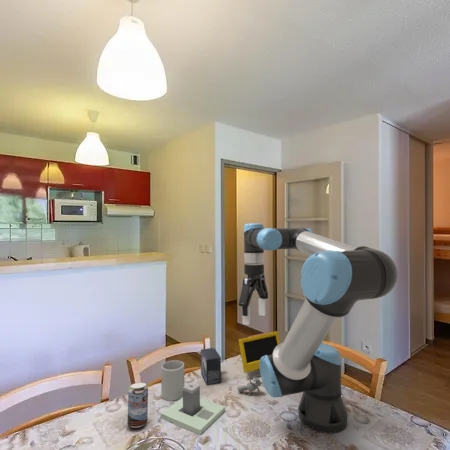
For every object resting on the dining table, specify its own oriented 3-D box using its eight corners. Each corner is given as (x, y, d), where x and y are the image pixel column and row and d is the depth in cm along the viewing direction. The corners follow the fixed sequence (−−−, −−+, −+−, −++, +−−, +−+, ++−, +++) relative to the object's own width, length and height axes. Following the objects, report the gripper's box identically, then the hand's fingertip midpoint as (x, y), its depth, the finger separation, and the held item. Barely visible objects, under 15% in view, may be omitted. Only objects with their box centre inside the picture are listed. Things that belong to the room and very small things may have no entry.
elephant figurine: (241, 385, 119) (263, 379, 117) (244, 402, 115) (266, 396, 113) (232, 377, 113) (254, 371, 111) (234, 395, 108) (257, 388, 106)
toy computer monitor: (245, 381, 122) (245, 341, 122) (235, 373, 129) (235, 335, 129) (284, 369, 132) (284, 333, 132) (273, 362, 139) (272, 328, 139)
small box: (200, 373, 129) (199, 348, 129) (214, 371, 131) (214, 347, 131) (205, 385, 119) (205, 359, 119) (221, 383, 121) (221, 356, 121)
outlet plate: (225, 410, 102) (225, 406, 102) (200, 434, 90) (200, 429, 90) (187, 397, 111) (187, 393, 111) (160, 417, 99) (160, 413, 99)
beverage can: (127, 433, 91) (126, 393, 92) (128, 418, 99) (127, 381, 99) (148, 429, 93) (148, 389, 93) (147, 415, 100) (147, 378, 100)
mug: (184, 400, 109) (184, 369, 109) (160, 401, 108) (160, 370, 108) (185, 383, 121) (184, 355, 121) (163, 384, 120) (163, 356, 120)
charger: (199, 412, 102) (199, 385, 102) (192, 418, 98) (192, 390, 98) (190, 408, 104) (190, 381, 104) (182, 414, 100) (182, 387, 101)
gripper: (259, 260, 128) (259, 310, 128) (228, 266, 107) (229, 327, 107) (275, 261, 124) (276, 313, 124) (247, 268, 103) (248, 330, 103)
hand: (254, 319), depth 115 cm, fingers open, 13 cm apart
